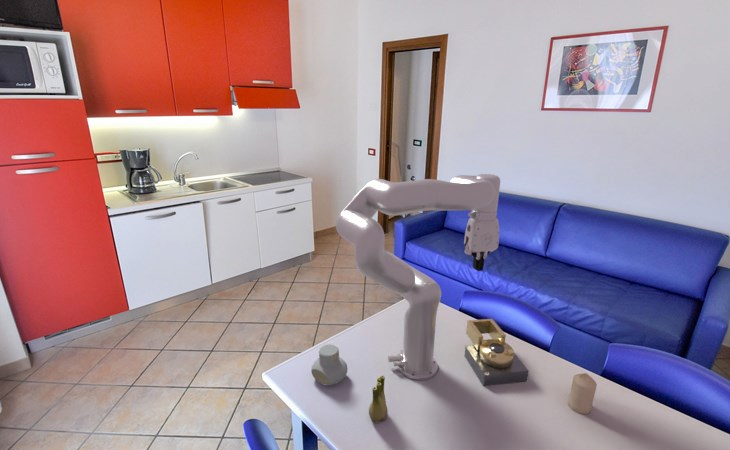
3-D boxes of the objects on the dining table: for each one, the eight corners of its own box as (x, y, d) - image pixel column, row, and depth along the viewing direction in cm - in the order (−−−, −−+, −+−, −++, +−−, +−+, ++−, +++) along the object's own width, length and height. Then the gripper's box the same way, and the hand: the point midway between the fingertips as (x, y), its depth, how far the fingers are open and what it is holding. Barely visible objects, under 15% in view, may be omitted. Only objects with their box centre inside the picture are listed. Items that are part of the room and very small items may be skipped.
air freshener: (307, 377, 112) (305, 349, 109) (325, 363, 119) (324, 336, 116) (334, 393, 106) (333, 364, 103) (352, 377, 112) (351, 349, 109)
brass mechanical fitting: (518, 366, 111) (521, 351, 109) (487, 369, 110) (489, 354, 108) (492, 331, 128) (493, 318, 126) (464, 334, 127) (465, 320, 125)
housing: (483, 386, 109) (484, 374, 108) (464, 355, 122) (465, 345, 121) (526, 381, 111) (528, 370, 110) (503, 352, 124) (505, 341, 123)
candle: (569, 396, 105) (575, 367, 102) (591, 404, 102) (598, 375, 99) (566, 408, 101) (572, 378, 98) (589, 417, 98) (596, 387, 95)
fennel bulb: (374, 428, 94) (375, 391, 91) (363, 416, 98) (363, 379, 95) (392, 418, 98) (393, 381, 94) (380, 406, 102) (381, 370, 98)
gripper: (469, 220, 107) (464, 277, 113) (511, 216, 112) (504, 271, 117) (455, 213, 114) (451, 267, 120) (496, 209, 119) (490, 262, 124)
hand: (477, 269), depth 119 cm, fingers closed
